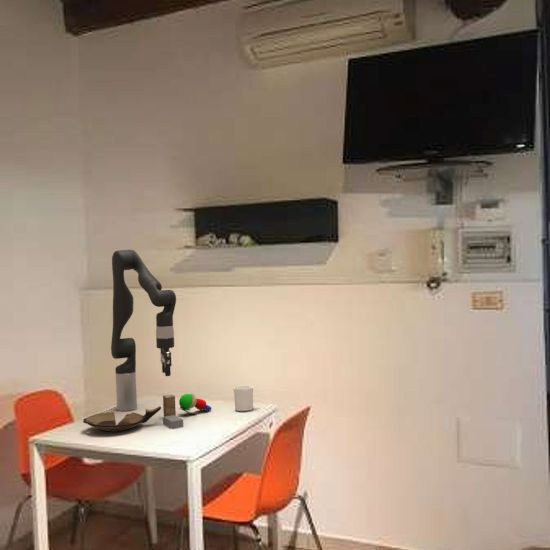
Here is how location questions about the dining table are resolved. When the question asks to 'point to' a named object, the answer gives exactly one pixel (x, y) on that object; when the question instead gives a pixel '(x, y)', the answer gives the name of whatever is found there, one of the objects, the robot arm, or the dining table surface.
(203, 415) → the dining table surface
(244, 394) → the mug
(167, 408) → the block
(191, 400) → the toy
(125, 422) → the oil lamp
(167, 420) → the hammer head
